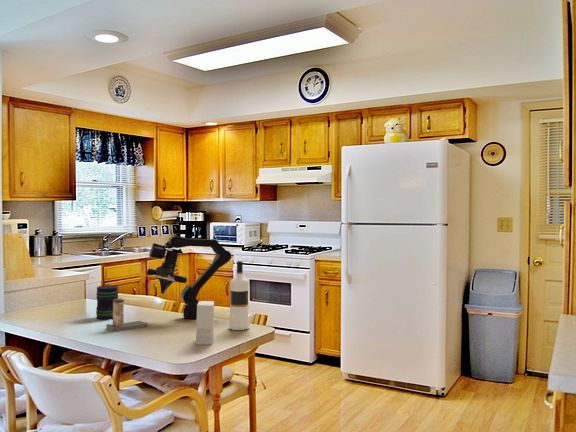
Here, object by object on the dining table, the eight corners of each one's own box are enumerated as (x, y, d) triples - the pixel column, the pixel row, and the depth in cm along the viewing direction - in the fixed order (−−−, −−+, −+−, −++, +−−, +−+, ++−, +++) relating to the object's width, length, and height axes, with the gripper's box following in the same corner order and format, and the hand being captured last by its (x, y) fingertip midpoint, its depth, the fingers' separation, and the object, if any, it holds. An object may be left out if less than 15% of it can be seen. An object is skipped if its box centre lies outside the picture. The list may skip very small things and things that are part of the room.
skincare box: (197, 339, 198) (198, 300, 198) (214, 339, 198) (214, 300, 198) (195, 345, 189) (196, 304, 189) (212, 344, 190) (213, 304, 190)
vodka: (225, 327, 219) (226, 260, 219) (245, 325, 223) (245, 259, 223) (232, 332, 211) (233, 262, 211) (252, 330, 215) (253, 261, 215)
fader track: (139, 323, 224) (139, 319, 224) (146, 326, 219) (147, 322, 219) (106, 328, 213) (106, 324, 213) (112, 331, 208) (113, 327, 208)
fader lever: (119, 323, 216) (119, 298, 216) (123, 325, 213) (124, 299, 213) (112, 324, 214) (112, 299, 214) (116, 326, 211) (116, 300, 211)
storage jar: (122, 317, 238) (122, 286, 238) (107, 320, 229) (107, 288, 229) (107, 315, 242) (107, 284, 242) (91, 318, 234) (91, 287, 234)
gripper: (144, 256, 228) (136, 289, 227) (181, 265, 224) (172, 298, 223) (156, 257, 239) (148, 289, 238) (190, 266, 235) (182, 298, 233)
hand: (162, 293), depth 233 cm, fingers closed
